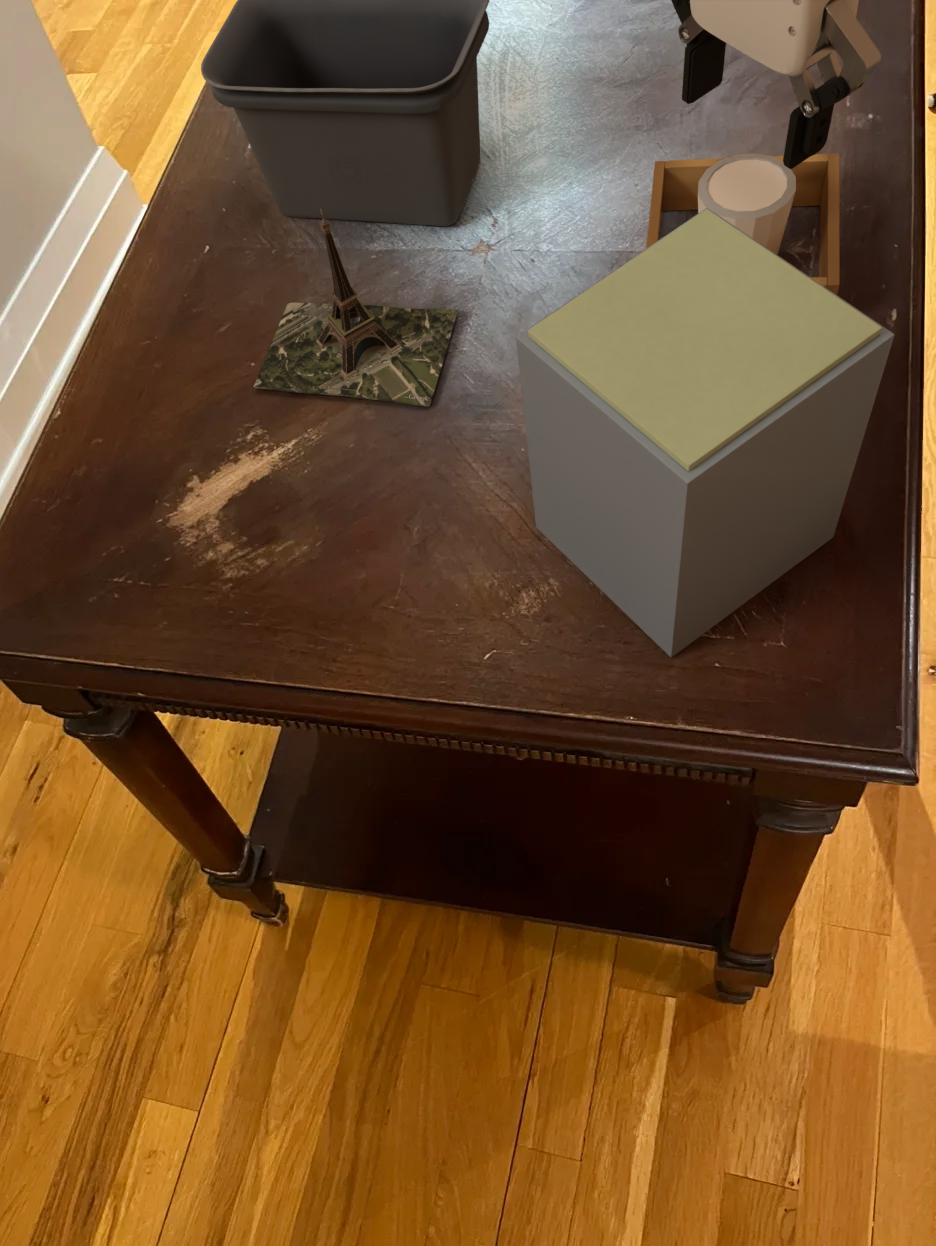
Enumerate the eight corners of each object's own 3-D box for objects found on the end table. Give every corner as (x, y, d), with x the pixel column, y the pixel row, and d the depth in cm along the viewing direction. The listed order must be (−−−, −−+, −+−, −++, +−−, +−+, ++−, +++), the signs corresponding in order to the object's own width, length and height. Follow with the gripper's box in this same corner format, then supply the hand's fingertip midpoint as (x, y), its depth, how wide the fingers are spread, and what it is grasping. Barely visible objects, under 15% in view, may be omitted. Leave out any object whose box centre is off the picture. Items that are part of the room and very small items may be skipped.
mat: (880, 334, 57) (882, 327, 56) (688, 472, 55) (689, 465, 55) (706, 215, 63) (707, 208, 62) (528, 336, 61) (527, 330, 60)
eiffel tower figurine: (251, 395, 87) (194, 260, 76) (288, 302, 91) (240, 160, 80) (430, 410, 83) (400, 270, 72) (461, 312, 87) (437, 164, 76)
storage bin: (241, 237, 96) (185, 83, 83) (300, 119, 102) (255, -42, 89) (473, 255, 90) (450, 92, 77) (521, 129, 96) (507, -43, 83)
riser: (833, 537, 72) (895, 334, 57) (671, 658, 71) (687, 483, 55) (688, 419, 79) (706, 207, 63) (535, 527, 77) (515, 336, 61)
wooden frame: (830, 198, 86) (839, 152, 82) (829, 327, 80) (839, 284, 77) (653, 204, 89) (654, 160, 85) (640, 329, 83) (642, 288, 80)
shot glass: (674, 256, 86) (678, 178, 80) (750, 218, 86) (761, 138, 80) (722, 308, 83) (731, 231, 77) (801, 269, 83) (816, 190, 77)
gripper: (966, -142, 56) (889, 154, 71) (729, -243, 64) (705, 43, 79) (857, -71, 55) (802, 214, 70) (629, -182, 63) (624, 96, 78)
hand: (751, 124), depth 74 cm, fingers open, 9 cm apart
